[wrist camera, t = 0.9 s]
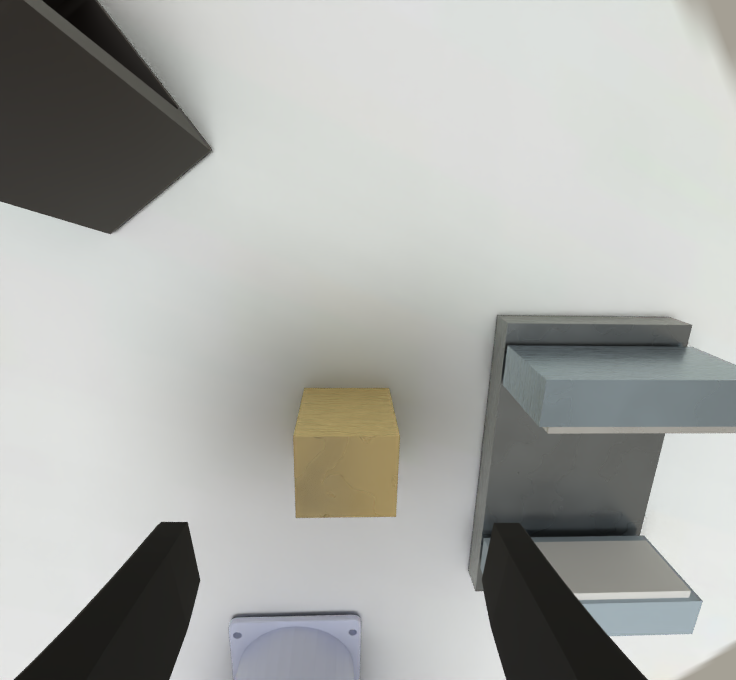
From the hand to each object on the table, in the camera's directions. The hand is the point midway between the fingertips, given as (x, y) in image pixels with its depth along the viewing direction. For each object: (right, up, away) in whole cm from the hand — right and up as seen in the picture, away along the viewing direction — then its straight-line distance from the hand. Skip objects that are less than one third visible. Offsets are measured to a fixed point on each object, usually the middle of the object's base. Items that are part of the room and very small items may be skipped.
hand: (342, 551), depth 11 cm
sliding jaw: (+11, -7, +14) cm, 19 cm away
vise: (+11, -1, +14) cm, 18 cm away
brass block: (-1, +1, +13) cm, 13 cm away
